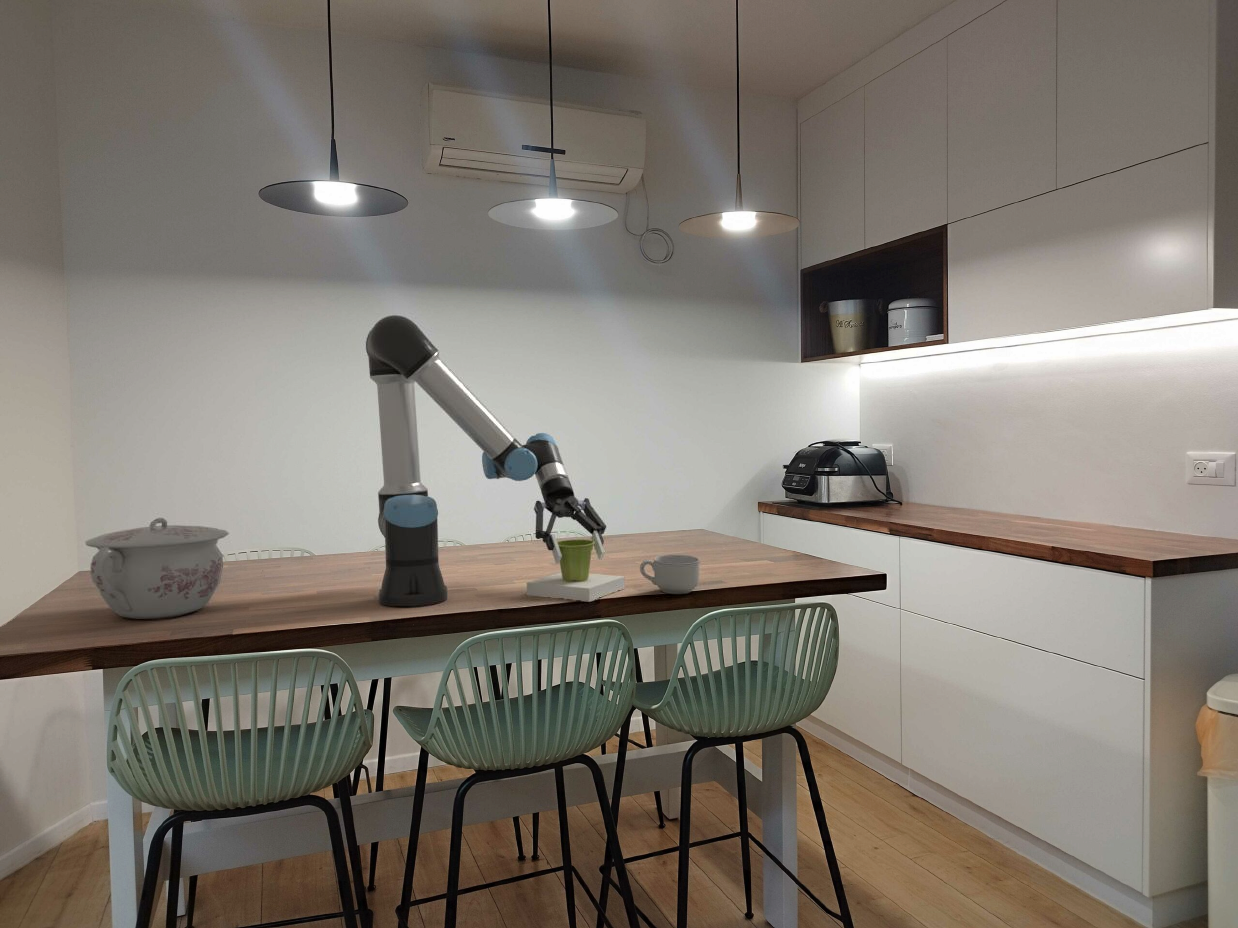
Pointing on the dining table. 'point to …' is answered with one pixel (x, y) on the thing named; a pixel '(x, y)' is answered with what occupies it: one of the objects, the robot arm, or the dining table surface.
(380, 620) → the dining table surface
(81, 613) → the dining table surface
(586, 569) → the plant pot
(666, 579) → the teacup
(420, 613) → the dining table surface
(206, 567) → the chamber pot
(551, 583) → the plinth
